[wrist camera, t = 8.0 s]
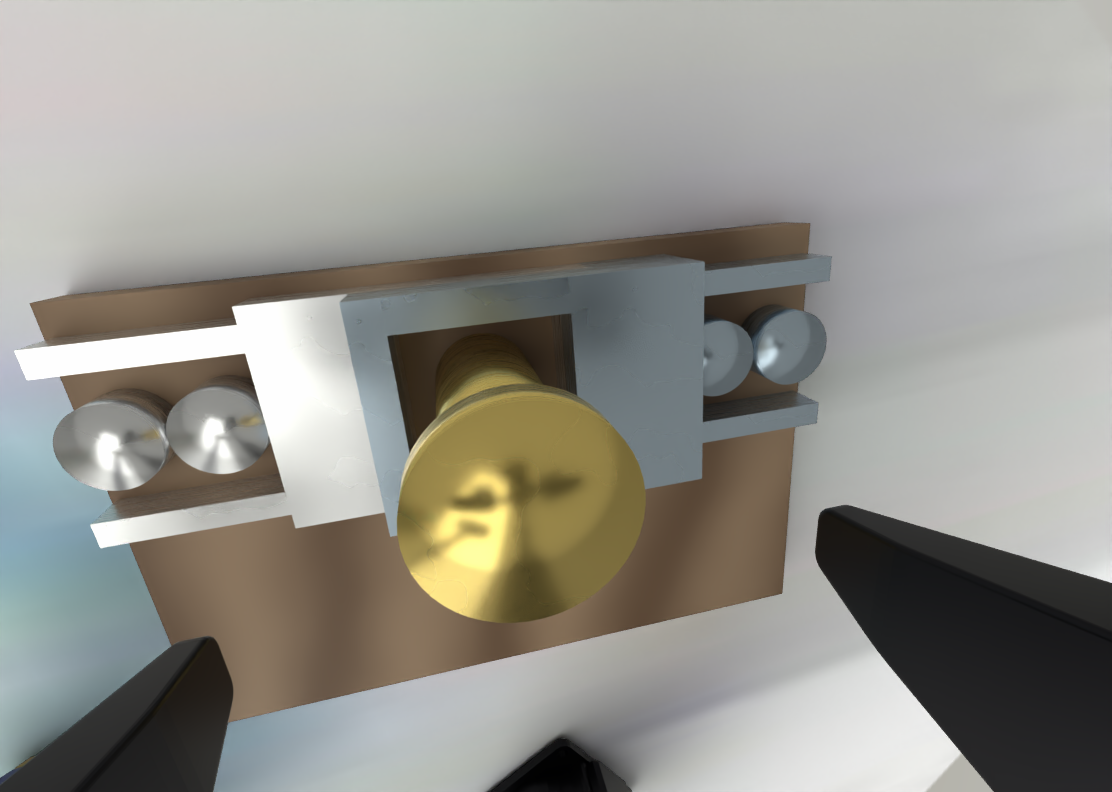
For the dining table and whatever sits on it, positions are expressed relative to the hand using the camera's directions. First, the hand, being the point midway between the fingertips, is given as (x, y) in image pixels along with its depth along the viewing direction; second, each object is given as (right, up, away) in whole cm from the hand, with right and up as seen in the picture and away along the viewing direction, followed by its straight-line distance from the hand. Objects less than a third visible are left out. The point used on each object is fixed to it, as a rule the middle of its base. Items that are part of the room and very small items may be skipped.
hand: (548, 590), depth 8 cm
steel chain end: (-6, +3, +10) cm, 12 cm away
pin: (-2, +3, +10) cm, 11 cm away
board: (-2, 0, +13) cm, 13 cm away
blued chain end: (+2, +4, +11) cm, 12 cm away
